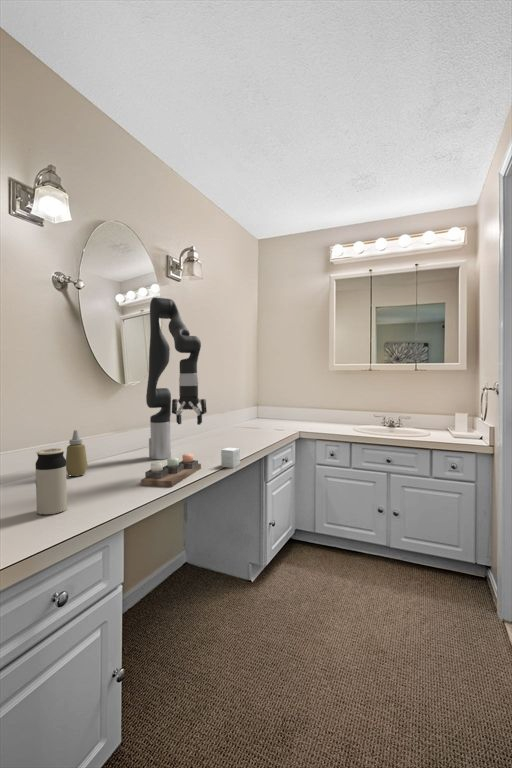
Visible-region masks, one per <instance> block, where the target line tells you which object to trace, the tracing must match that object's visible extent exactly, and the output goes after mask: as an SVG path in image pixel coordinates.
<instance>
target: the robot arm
mask: <svg viewBox="0 0 512 768" xmlns="http://www.w3.org/2000/svg"><path fill="white" fill-rule="evenodd" d="M161 319H163V320H170V321H169V323H168V331H169V332H170V335H171V336H172V338H173V342H174V348H175V350H176V352H178V353H180V354H189V356H188V358H187V357H186V358H182V359H180V361H179V378H178V383H179V384H178V385H179V389H178V391H179V399H178V398H172V397H171V396H172V394H171V391H170V389H169V388H167V387H164V388H163V387H162V388H161V387H160V388H159V387H158V382H159V380H160V377H161V375H162V374H163V372H164V371H165V369H166V368H167V366H168V365H169V362H170V355H171V354H170V351H171V349H170V348H171V347H170V345H169V343H168V340H167V339H166V337H165V335H164V334H163V331H162V329H161V327H160V326H161V325H160V324H161V323H160V320H161ZM149 327H150V329H149V330H150V333H149V334H150V335H149V336H150V337H149V338H150V340H149V352H148V353H149V354H148V378H147V387H146V396H145V397H146V400H145V401H146V405H147V407H148V408H150V409H158V408H159V409H160V410H159V411H158V412H156V413H154V414H152V415H151V416H150V420H149V421H150V422H149V425H150V428H149V429H150V438H148V459H152V460H167V459H168V458H172V452H171V449H172V447H171V446H172V445H171V415H175V417H176V419H175V420H176V421H175V422H176V423H177V425H181V424H182V413H183V412H184V411H186V410H191V411H192V410H193V411H194V412H195V413H196V414H197V416H196V418H197V420H196V421H197V422H196V423H197V425H199V426H200V425H201V424H203V415H205V414H207V413H208V411H207V400H206V398H201V399H200V398H199V379H198V360H199V355H200V351H201V348H202V342H201V340H200V337H198V336H196V335H190V334H191V333H190V331H189V329H188V328H187V326H186V324H185V323H184V322H183V320H182V316H181V315H180V312H179V309H178V306H177V304H176V302H175V301H174V299H172V298H164V297H152V298H151V300H150V304H149ZM157 387H158V388H157ZM178 404H179V405H180V406H179V407H178ZM198 404H200V406H201V408H200V407H199V405H198ZM171 413H172V414H171Z"/></svg>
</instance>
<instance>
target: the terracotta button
mask: <svg viewBox="0 0 512 768" xmlns="http://www.w3.org/2000/svg"><path fill="white" fill-rule="evenodd" d="M181 456H182V461H183V463H193V460H194V454H193V453H183V454H182V455H181Z"/></svg>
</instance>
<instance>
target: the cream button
mask: <svg viewBox="0 0 512 768" xmlns="http://www.w3.org/2000/svg"><path fill="white" fill-rule="evenodd" d="M163 467H164V464H163V461H153V462H150V470H151V472H162V471H163Z"/></svg>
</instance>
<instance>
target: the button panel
mask: <svg viewBox="0 0 512 768" xmlns="http://www.w3.org/2000/svg"><path fill="white" fill-rule="evenodd" d="M201 469H202V463H199V460H197V459H195V460H194V459H193V463H183V460H181V461H179V467H176V468H170V467H167V465H163V471H162V472H151V469H149V470H147V471H145V472H144V473H145V474H144V475H145V476H144V477H143V478H142V479H141V480H140V484H141V486H150V487H151V486H153V487H169V488H173V487H174V486H177V484H179V483H180V482H182V481H184V480H185V479H187V478H188V477H190V476H192V475H193V474H194V473H197V471H200V470H201ZM183 479H184V480H183Z"/></svg>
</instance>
